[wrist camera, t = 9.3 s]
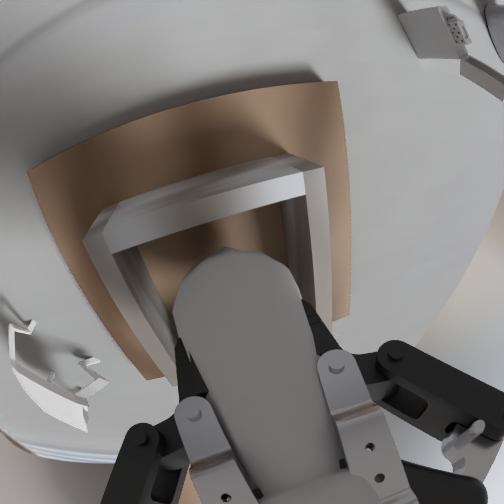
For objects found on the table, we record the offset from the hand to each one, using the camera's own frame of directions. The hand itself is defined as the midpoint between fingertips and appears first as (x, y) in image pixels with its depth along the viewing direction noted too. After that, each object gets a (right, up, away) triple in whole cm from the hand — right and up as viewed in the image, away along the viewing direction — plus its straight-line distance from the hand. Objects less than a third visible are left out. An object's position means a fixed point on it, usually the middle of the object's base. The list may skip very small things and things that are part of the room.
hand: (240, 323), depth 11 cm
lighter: (+14, +19, +2) cm, 24 cm away
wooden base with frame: (-2, +3, +6) cm, 7 cm away
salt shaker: (-1, +2, +3) cm, 3 cm away
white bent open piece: (-16, -6, +7) cm, 19 cm away
